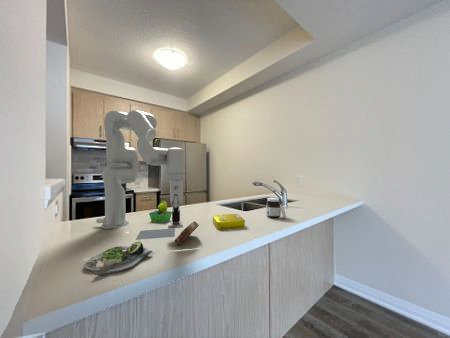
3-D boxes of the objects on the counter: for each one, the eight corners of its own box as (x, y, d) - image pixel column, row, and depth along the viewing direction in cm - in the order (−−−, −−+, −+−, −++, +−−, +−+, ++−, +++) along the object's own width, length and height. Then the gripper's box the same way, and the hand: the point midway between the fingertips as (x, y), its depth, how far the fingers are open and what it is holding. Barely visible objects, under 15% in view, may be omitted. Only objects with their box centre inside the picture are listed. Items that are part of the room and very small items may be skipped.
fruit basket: (147, 222, 112) (147, 202, 112) (157, 218, 120) (157, 199, 120) (165, 224, 109) (165, 203, 108) (174, 219, 117) (174, 200, 117)
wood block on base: (168, 228, 81) (168, 206, 81) (168, 225, 86) (168, 204, 86) (183, 227, 82) (183, 205, 82) (182, 224, 87) (182, 203, 87)
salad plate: (121, 283, 54) (120, 266, 54) (65, 277, 57) (65, 261, 57) (157, 252, 73) (157, 240, 73) (114, 249, 76) (114, 237, 76)
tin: (174, 249, 75) (189, 235, 74) (169, 242, 75) (184, 228, 74) (189, 235, 90) (202, 223, 89) (185, 230, 90) (197, 218, 89)
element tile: (246, 228, 102) (246, 219, 102) (217, 230, 98) (217, 221, 98) (237, 220, 116) (237, 212, 116) (212, 222, 113) (212, 214, 113)
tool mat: (135, 241, 83) (135, 239, 83) (140, 231, 95) (140, 230, 95) (174, 237, 87) (174, 236, 87) (175, 229, 99) (175, 228, 99)
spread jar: (264, 215, 128) (264, 197, 128) (281, 214, 129) (281, 197, 129) (271, 220, 116) (271, 200, 116) (289, 219, 117) (289, 200, 117)
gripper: (185, 178, 77) (185, 225, 77) (184, 176, 93) (184, 215, 93) (165, 178, 75) (165, 226, 76) (167, 176, 91) (168, 216, 91)
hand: (176, 220), depth 84 cm, fingers closed on wood block on base, 2 cm apart
